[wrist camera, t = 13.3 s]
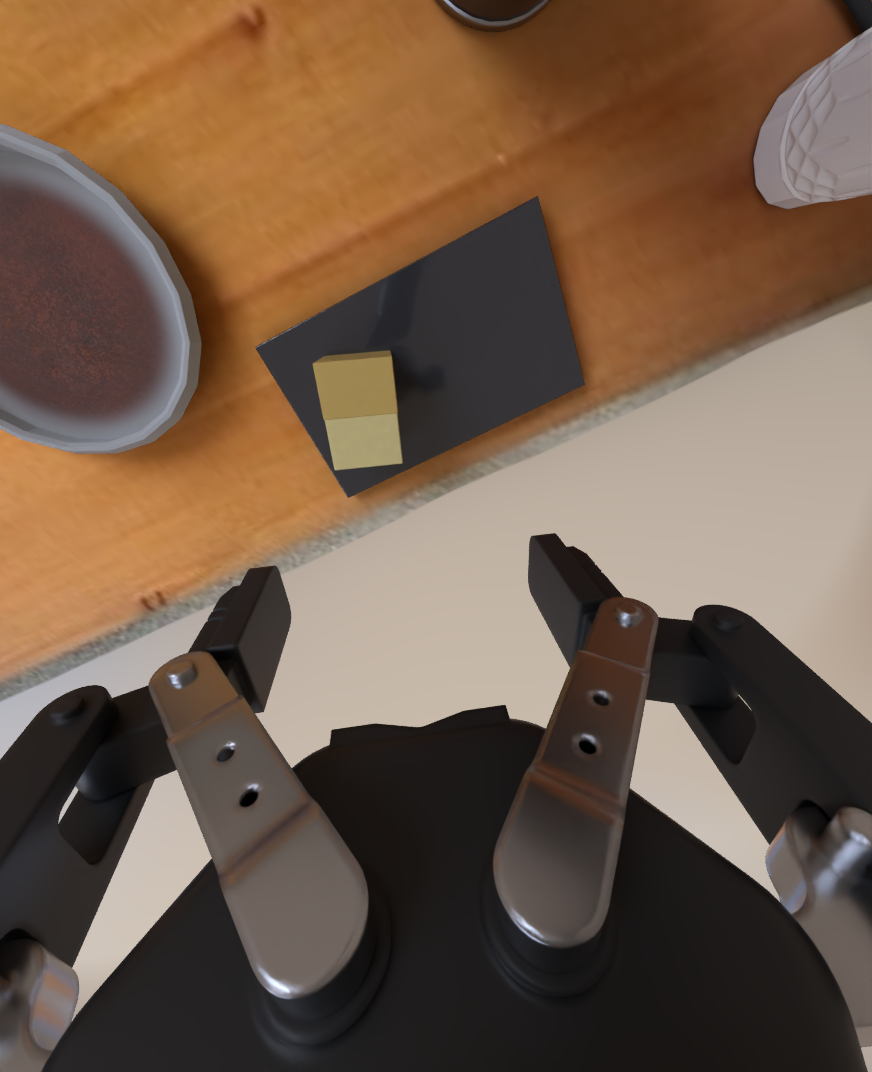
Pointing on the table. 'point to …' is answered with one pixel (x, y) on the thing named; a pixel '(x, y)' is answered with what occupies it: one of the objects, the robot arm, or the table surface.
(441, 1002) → the robot arm
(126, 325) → the frying pan
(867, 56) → the white cup
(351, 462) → the butter
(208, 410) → the table surface
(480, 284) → the slate board
